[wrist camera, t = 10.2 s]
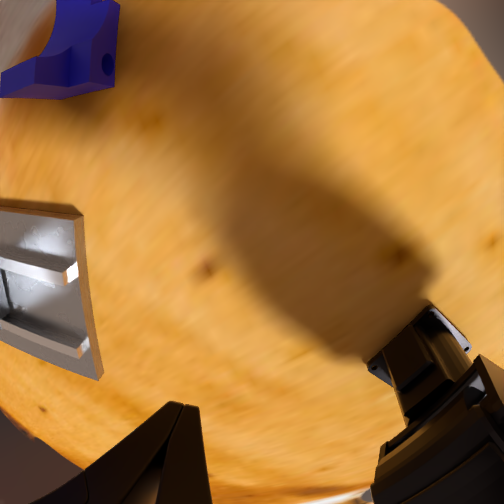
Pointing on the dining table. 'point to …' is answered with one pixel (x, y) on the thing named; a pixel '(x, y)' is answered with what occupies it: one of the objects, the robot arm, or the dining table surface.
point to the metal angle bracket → (3, 301)
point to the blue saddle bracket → (70, 54)
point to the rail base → (48, 289)
